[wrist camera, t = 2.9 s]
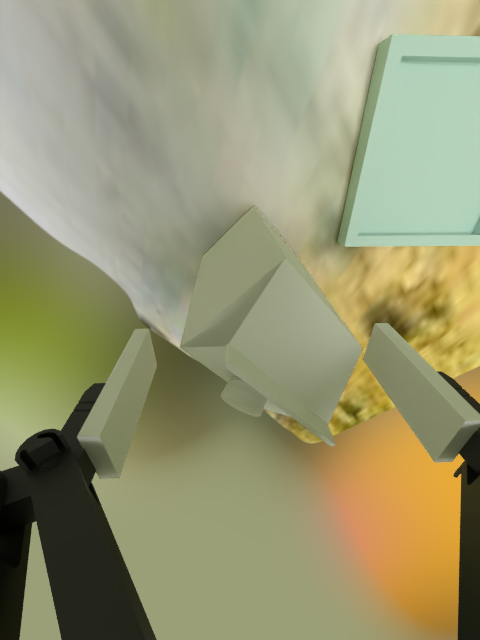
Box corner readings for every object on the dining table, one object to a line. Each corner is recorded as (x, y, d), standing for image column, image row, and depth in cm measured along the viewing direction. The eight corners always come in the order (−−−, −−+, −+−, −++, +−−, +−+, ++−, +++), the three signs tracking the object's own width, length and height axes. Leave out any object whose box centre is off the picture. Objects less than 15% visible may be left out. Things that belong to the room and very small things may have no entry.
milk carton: (254, 204, 24) (312, 301, 8) (298, 258, 27) (407, 410, 11) (201, 255, 26) (161, 412, 10) (247, 300, 29) (273, 475, 13)
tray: (378, 44, 18) (392, 34, 17) (563, 48, 19) (593, 39, 17) (337, 241, 26) (344, 246, 24) (470, 240, 26) (485, 245, 25)
